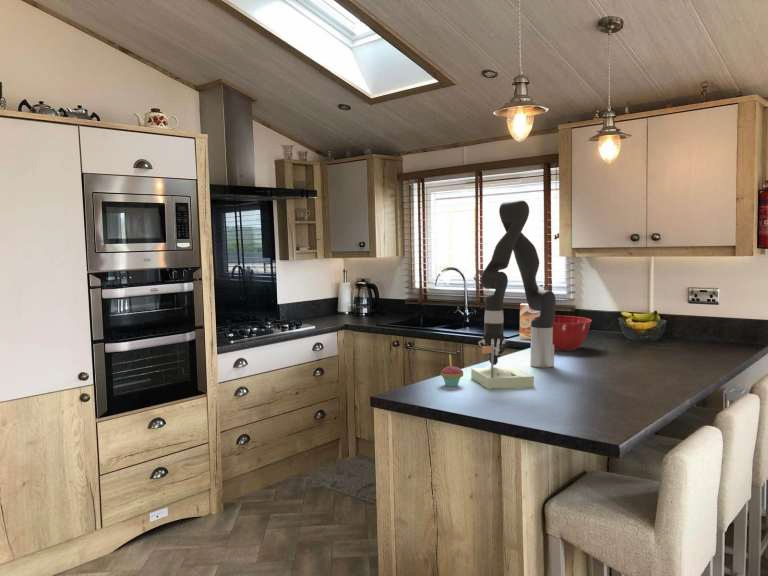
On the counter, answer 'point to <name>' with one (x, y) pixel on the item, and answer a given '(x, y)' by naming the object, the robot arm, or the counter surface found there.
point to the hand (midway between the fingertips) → (493, 364)
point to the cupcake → (451, 375)
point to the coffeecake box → (526, 320)
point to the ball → (505, 374)
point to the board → (493, 380)
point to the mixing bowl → (569, 332)
